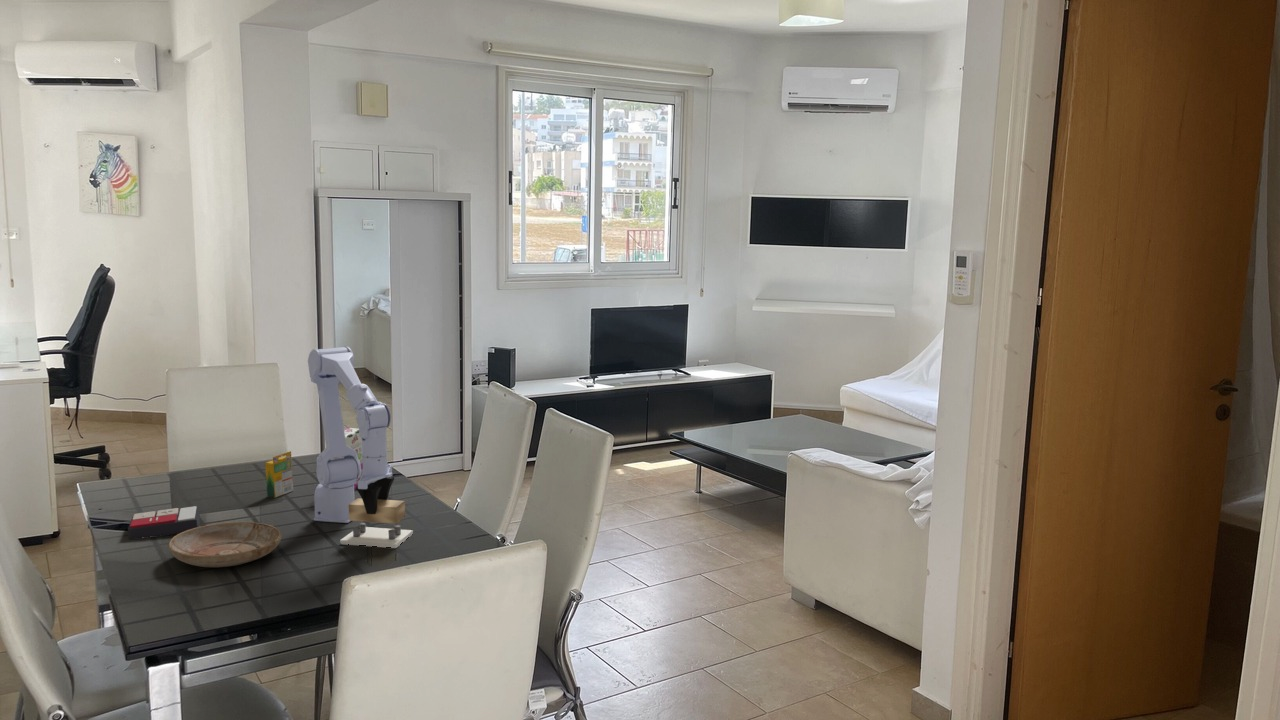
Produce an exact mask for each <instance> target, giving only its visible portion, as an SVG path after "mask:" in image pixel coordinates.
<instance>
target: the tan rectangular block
mask: <svg viewBox="0 0 1280 720" xmlns="http://www.w3.org/2000/svg"><path fill="white" fill-rule="evenodd" d="M405 518H406V501H405V500H396V499H395V500H394V499H387V500H381V499H378V501H377V511H376V514H367V513H366V509H365V506H364V503H363V500H362V498H361V497H358V498H356V499H355V500H354V501H353V502H351V503H350V504H349V521H350V522H352V521H353V522H363V523H368V522H369V523H378V524H379V523H382V524H395V525H396V524H397V525H398V523H400V522H401V521H402V520H403V519H405Z"/></svg>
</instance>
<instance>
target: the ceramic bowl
mask: <svg viewBox="0 0 1280 720" xmlns="http://www.w3.org/2000/svg"><path fill="white" fill-rule="evenodd" d="M281 540H282V532H281V531H280V530H279V529H278V528H277V527H275V526H274V525H270V524H267V523H266V524H265V523H261V522H256V521H255V522H253V521H232V522H231V521H229V522H220V523H212V524H208V525H202V526H199V527H197V528H193V529H190V530H187V531H184V532H182V533H180V534H175V535H174V536H173V537H172V538H171V539H170V540H169V543H168V548H169V552H170V554H171V555H172V556H173V557H174V558H175V559H176V560H178V561H181V562H183V563H185V564H188V565H190V566H194V567H195V566H196V567H203V568H225V567H226V568H228V567H234V566H235V567H236V566H240V565H244V564H246V563H247V564H248V563H249V562H250V563H251V562H253V561H256V560H259V559H261V558H263V557H265V556H267V555H268V554H271V552H273V551H275V549H276V548H277V547H278V546H279V544H280V543H281Z"/></svg>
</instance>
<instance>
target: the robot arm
mask: <svg viewBox="0 0 1280 720" xmlns="http://www.w3.org/2000/svg"><path fill="white" fill-rule="evenodd" d="M307 366H308V371H309V377H310V381H311V383H314V384H316V387H317V393H318V401H319V407H320V413H321V414H320V415H321V423H322V428H323V434H324V442H325V448H324V450H322V451H321V452H320V454H318V456H317V457H316V470H315V471H316V478H317V480H318V482H319V484H317V486H316V487H315V490H314V494H313V499H314V501H313V502H314V518H313V521H315V522H327V523H343V524H349V523H350V522H351V521H349V504H350V503H351V502H353V501H354V500H356V499H355V498H356V497H355V490H356V491H357V493H358V494H359V496H360V498H362V500H363V503H364V506H365V509H366V513H367V514H376V511H377V501H378V499H381V500H389V495H390V494H389V493H390V490H391V488H392V485H393V483H394V481H395V476H393V466H392V464H391V465H390V464H388V440H387V438H388V437H387V428H389V427H390V425H391V420H392V416H391V411H390V409H389V406H388V405H387V404H386V403H384V402H382V401H378V399H377V398H376V396H375V394H374V393H373V391H372V390H371V388H370V387H369V386H368V385H367V384H365V383H362V382H361V380H360V379H359V378H360V377H359V376H358V374H357V372H356V370H355V368H354V366H355V356H354V352H353V350H352V349H351V348H350V346H345V345H344V346H342V347H341V346H340V347H330V348H319V349H318V348H313V349H312V350H311V351H310V352H309V355H308V357H307ZM339 383H341V384H342V386H343V387H344V388H345V389H346V391H347V393H346V399H347V400H348V402H349V404H350V405H351V408H352V409H353V410H354V412H355V414H356V417H355V420H356V423H357V424H356V425H357V428H359V434H360V437H362V461H363V473H362V475H361V465H360V462H359V460H358V456H357V453H356V451H355V450H353V449H352V448H350V447H348V446H347V445H346V440H345V433H344V430H345V427H344V420H343V415H342V406H341V399H340V394H339V386H338V385H339ZM342 456H344V457H346V458H342V459H336V460H331V458H336V457H342ZM360 475H361V478H360V480H359V481H358V485H357V486H356V489H355V490H354V484H356V483H357V481H356V480H358V479H359V477H360Z"/></svg>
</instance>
